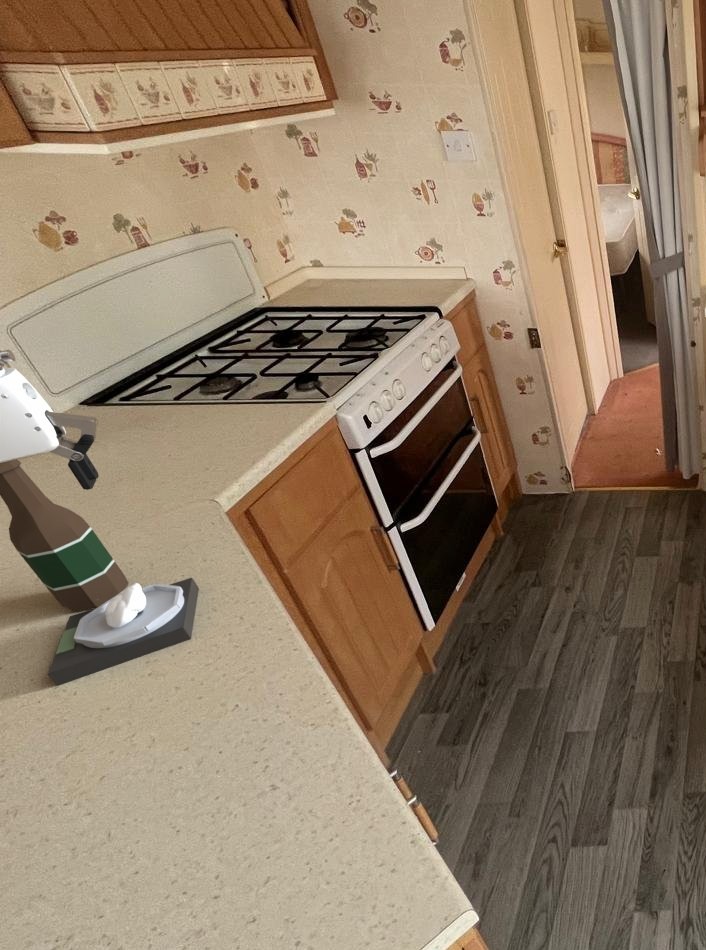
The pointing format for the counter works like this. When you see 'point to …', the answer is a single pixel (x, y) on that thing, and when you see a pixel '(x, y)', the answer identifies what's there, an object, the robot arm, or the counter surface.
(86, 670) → the scale
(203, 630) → the counter surface
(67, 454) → the robot arm
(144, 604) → the dumpling
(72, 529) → the beer bottle
